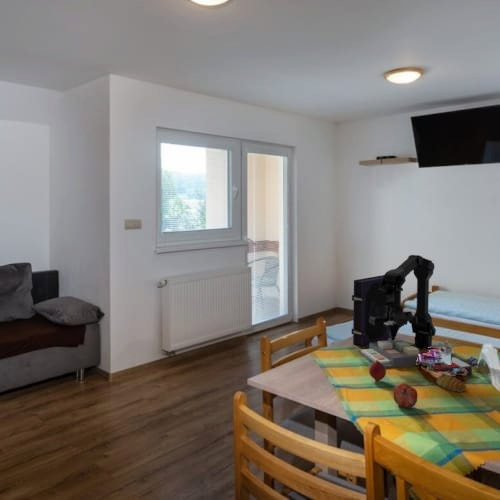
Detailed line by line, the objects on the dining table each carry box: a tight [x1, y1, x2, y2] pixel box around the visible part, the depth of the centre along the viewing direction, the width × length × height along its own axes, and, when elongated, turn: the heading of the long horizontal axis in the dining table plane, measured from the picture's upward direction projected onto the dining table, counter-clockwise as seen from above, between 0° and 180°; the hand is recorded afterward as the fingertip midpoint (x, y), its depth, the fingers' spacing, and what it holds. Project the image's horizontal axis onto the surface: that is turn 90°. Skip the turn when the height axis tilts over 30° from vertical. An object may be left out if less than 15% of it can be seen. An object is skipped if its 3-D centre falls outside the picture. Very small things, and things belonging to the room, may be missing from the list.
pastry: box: [436, 374, 467, 393], centre depth 162 cm, size 9×7×4 cm
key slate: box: [387, 337, 404, 346], centre depth 200 cm, size 4×4×3 cm
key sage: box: [395, 341, 411, 351], centre depth 194 cm, size 4×4×3 cm
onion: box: [368, 360, 387, 382], centre depth 168 cm, size 6×6×8 cm
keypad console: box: [357, 342, 418, 369], centre depth 193 cm, size 19×21×4 cm
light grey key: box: [378, 340, 392, 349], centre depth 196 cm, size 4×4×3 cm
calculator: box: [432, 357, 473, 377], centre depth 178 cm, size 11×4×15 cm
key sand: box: [403, 345, 420, 355], centre depth 188 cm, size 4×4×3 cm
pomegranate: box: [392, 383, 419, 409], centre depth 148 cm, size 7×7×10 cm
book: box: [351, 274, 390, 348], centre depth 218 cm, size 24×6×30 cm, turn 130°
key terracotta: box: [385, 350, 400, 354], centre depth 190 cm, size 4×4×3 cm
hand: (392, 340), depth 189 cm, fingers closed
